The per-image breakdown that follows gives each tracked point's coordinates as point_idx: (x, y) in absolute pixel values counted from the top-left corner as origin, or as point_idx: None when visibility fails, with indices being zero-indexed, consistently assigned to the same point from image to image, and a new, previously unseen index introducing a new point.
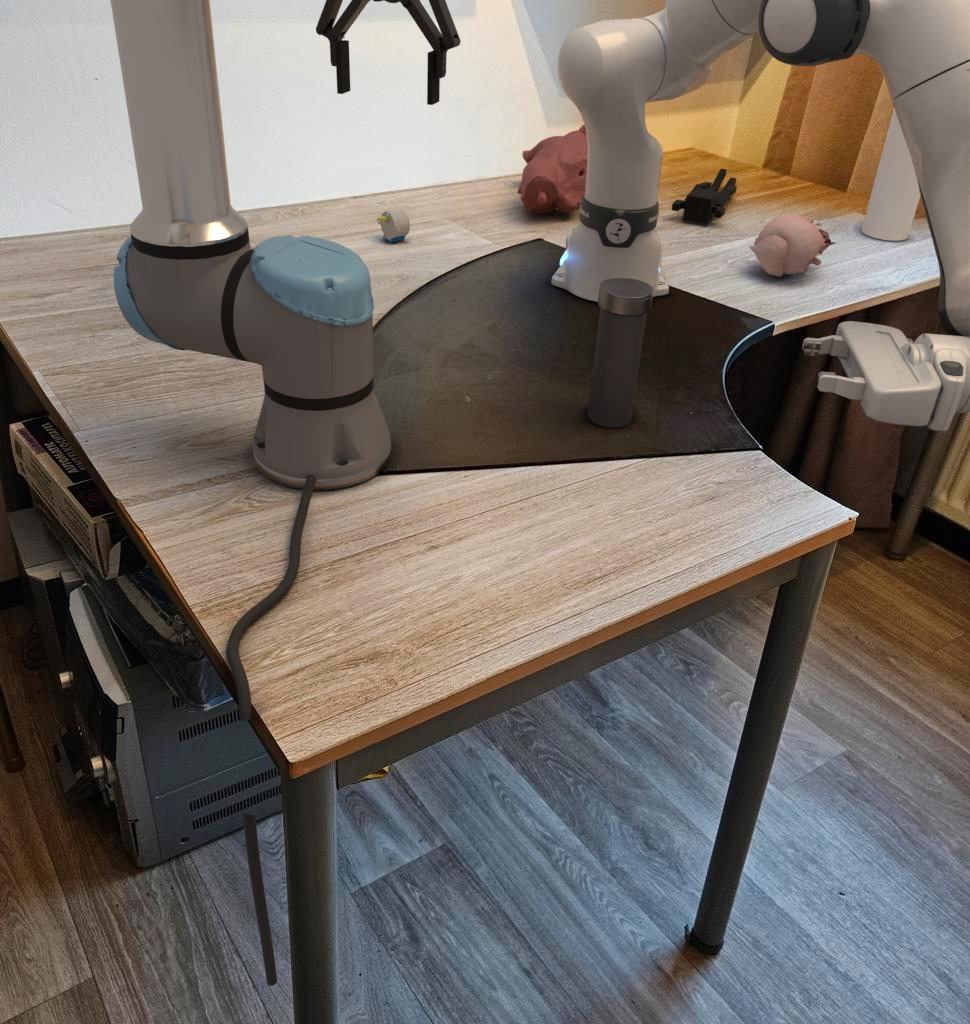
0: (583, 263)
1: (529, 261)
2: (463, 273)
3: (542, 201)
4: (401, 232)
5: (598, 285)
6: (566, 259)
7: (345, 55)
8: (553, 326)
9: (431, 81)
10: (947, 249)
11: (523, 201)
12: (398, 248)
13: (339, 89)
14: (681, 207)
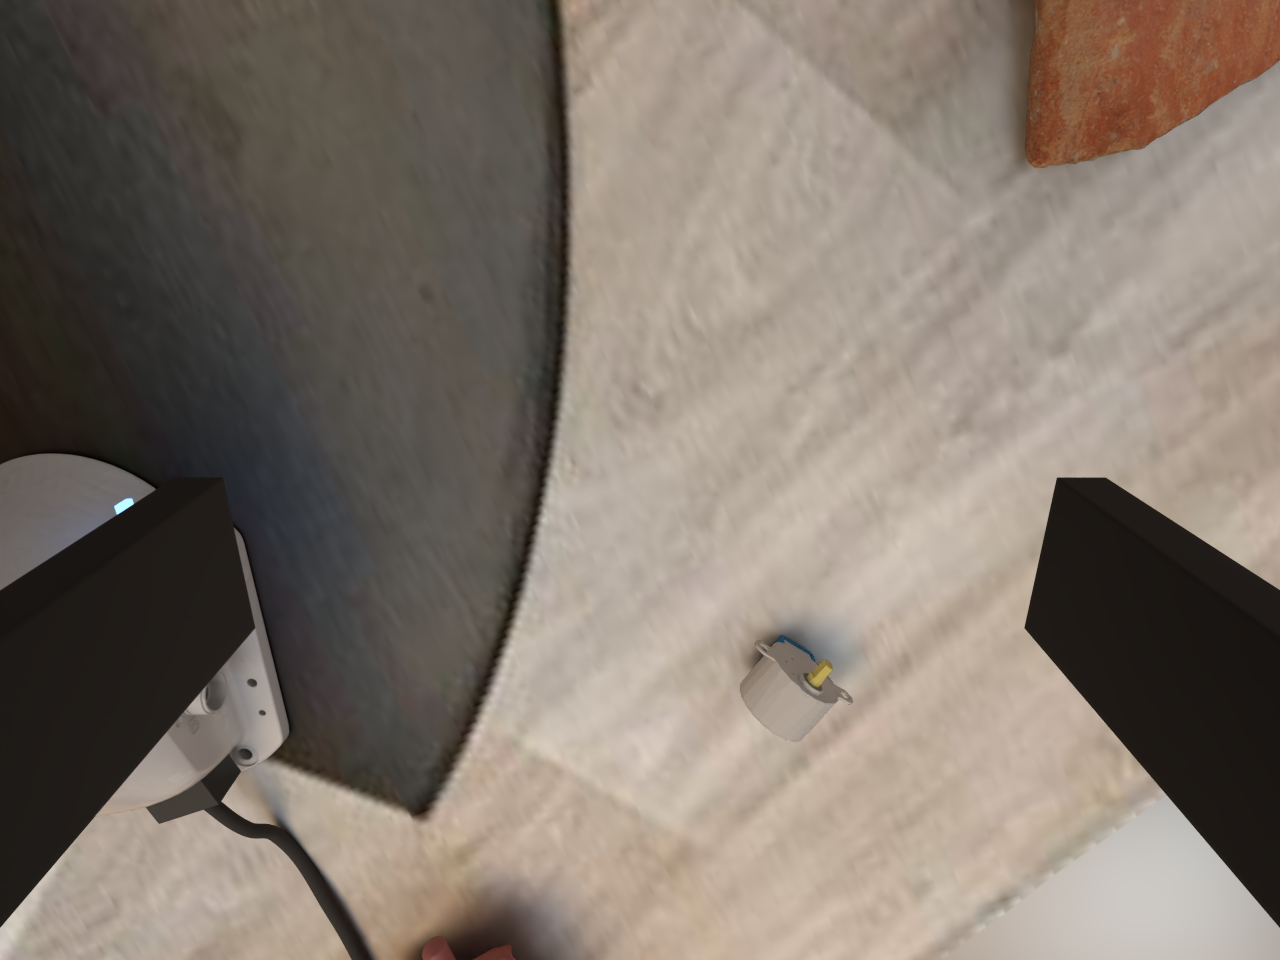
0: (65, 528)
1: (373, 664)
2: (497, 508)
3: (432, 944)
4: (757, 663)
5: (33, 481)
6: None
7: (1262, 779)
8: (77, 232)
9: (47, 573)
10: None
11: (509, 956)
12: (747, 609)
13: (1102, 491)
14: None
